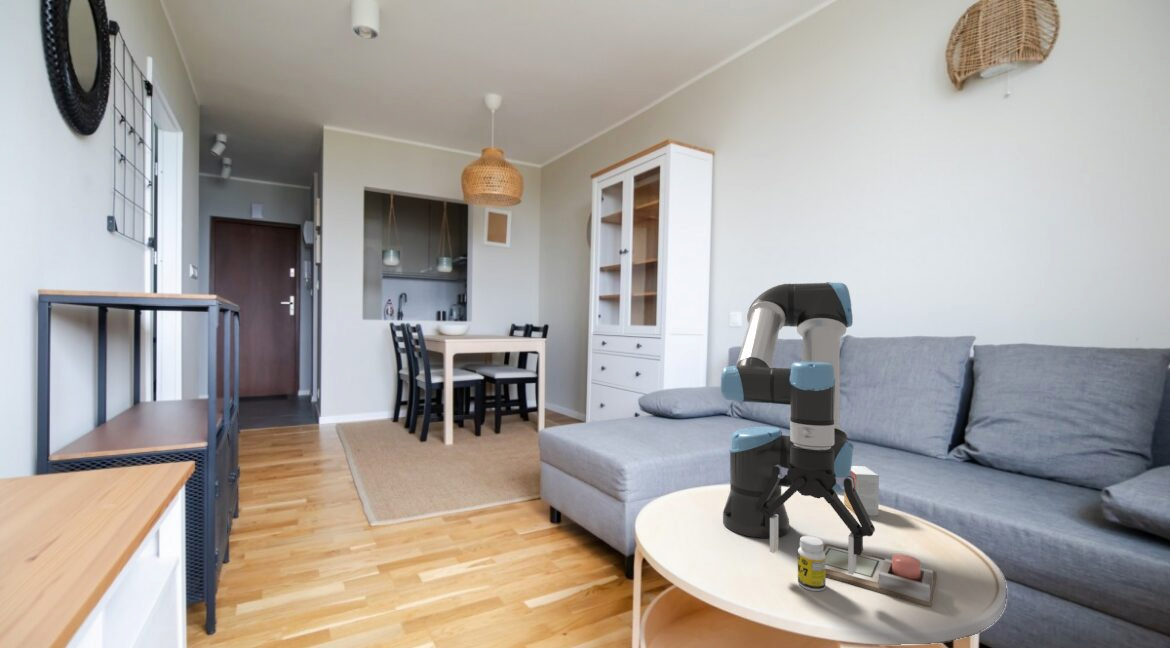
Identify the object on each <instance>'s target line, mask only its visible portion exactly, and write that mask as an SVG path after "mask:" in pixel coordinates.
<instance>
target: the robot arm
mask: <svg viewBox="0 0 1170 648" xmlns="http://www.w3.org/2000/svg"><path fill="white" fill-rule="evenodd" d="M853 317H854V316H853V310H852V301H851V295H850V290H849V287H848V286H847V285H846V284H844V283H843V282H830V281H826V282H813V283H811V282H808V283H783V284H778V285H775V286H772V287H770V288H767V290H765V291H764V292H762V293H761V294H760V295H758V296H757V297H756V298H755V299H754V300H753V302H751V304H750V306H749V308H748V312H747V315H746V318H747V319H746V320H747V323H748V324H747V329H746V331H745V335H744V339H743V342H742V344H741V348H740V351H739V355H738V358H737V361H736V364H735V365H731V366H724V367H723V368H722V371H721V376H720V390H721V392H720V393H721V395H722V397H723V399H725V400H727V401H732V402H733V401H734V402H739V403H755V404H757V403H758V404H774V405H787V406H789V405H790V418H789V420H790V421H789V430H790V431H789V433H790V435H783V432H782V430H781V428H779V427H775V426H752V427H751V426H750V427H745V428H741V429H737V430H736V431H734V432H733V433H732V434H731V437H730V447H729V453H730V457H729V458H730V460H729V462H730V465H729V466H730V468H729V470H730V471H729V473H730V475H729V476H730V478H729V479H730V484H729V485H730V488H729V489H730V491H729V494H728V497H727V499H726V502H725V505H724V508H723V511H722V523H723V525H724V526H725V527H726V528H727V529H728V530H730V531H732V532H733V533H737V534H739V535H743V536H747V537H753V538H758V539H759V538H761V539H769V553H771V554H772V553H773V554H774V553H776V551H777V550H778V549H779V538H780V537H783V536H785V535H787V534H788V533H789V532H790V519H789V515H788V512H787V508H786V506H785V503H786V502H787V501H788V500H789V499H790V498H791V497H792V496H793V495H794V494H795V493H797V492H798V493H799V494H800V496H804V497H807V496H808V497H809V496H810V497H813V498H814V499H821V498H823V499H824V501H825V502H826V503H828V504H829V506H831V508H832V509H833V510H834V511H835V513H836V514H837V515H838V517H839V519H841V521H842V522H843V523H844V525H845V526H846V527H847V529H848V530H849V531H850V533H849V535H848V536H847V538H848V539H847V540H848V543H847V544H848V545H847V549H848V574H852V575H853V574H854V572H855V570H856V555H861V553H863V550H864V537H872V536H873V534H874V532H875V530H876V529H875V526H874V524H873V522H872V520H871V519H870V516H868V514H867V512H866V510H865V508H864V506H863V504H862V502H861V500H860V498H859V496H858V494H857V492H856V490H855V484H854V478H853V477H852V476H850V473H851V466H853V465H852V464H853V458H854V457H853V456H854V449H855V443H854V442H853V441H851V440H848V433H847V432H846V431H845V430H844V429H843V428H842V427H841V426H840V421H841V420H840V407H841V406H840V405H841V404H840V403H841V402H840V401H841V399H840V398H841V397H840V396H841V394H840V390H841V389H840V387H841V386H840V385H841V384H840V383H841V382H840V372H841V371H840V369H841V366H840V361H841V360H840V353H841V349H840V348H841V347H840V344H841V343H840V340H841V337H843V336H844V335H845V334H846V332H847V328H850V327H852V326H853ZM784 327H790V328H791V327H796V331H797V334H798V335H799V336H801V337H802V346H801V347H802V349H801V350H802V352H801V354H802V355H801V361H794V362H793V363H792V364H791V366H790V368H785V367H783V368H780V367H773V363H774V359H775V353H776V350H777V349H776V348H777V343H778V339H779V332H780V330H782V329H783V328H784ZM782 487H787V489H786V490H785V491H784V492H783V493H782ZM844 492H845V493H846V496H847V498H848V500H849V502H850V504H851V506H852V508H853V510H854V512H855V514H856V515H855V514H854V515H855V517H856V518H857V519H856V518H855V517H854V515H853V514H852V512H850V509H848V507H847V506H846V505H845V504H844V502H843V501H842V500H841V498H840V497H839V495H838V494H844ZM854 512H853V513H854Z"/></svg>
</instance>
